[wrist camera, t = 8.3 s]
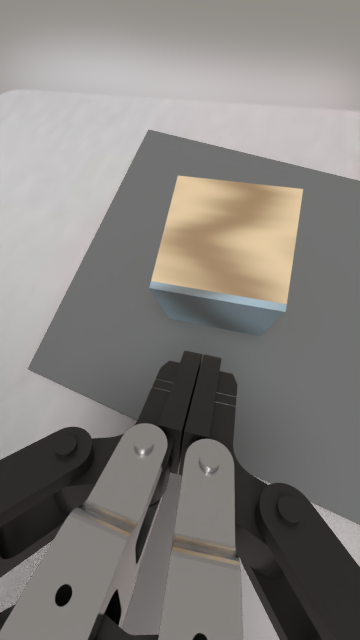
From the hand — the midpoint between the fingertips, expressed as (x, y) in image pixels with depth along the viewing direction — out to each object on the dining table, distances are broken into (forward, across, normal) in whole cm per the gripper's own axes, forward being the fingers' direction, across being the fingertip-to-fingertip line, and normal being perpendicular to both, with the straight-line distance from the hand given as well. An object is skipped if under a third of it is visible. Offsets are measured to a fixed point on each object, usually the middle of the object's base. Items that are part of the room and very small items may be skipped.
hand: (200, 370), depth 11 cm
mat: (+12, -1, +2) cm, 12 cm away
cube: (+7, 0, +1) cm, 7 cm away
